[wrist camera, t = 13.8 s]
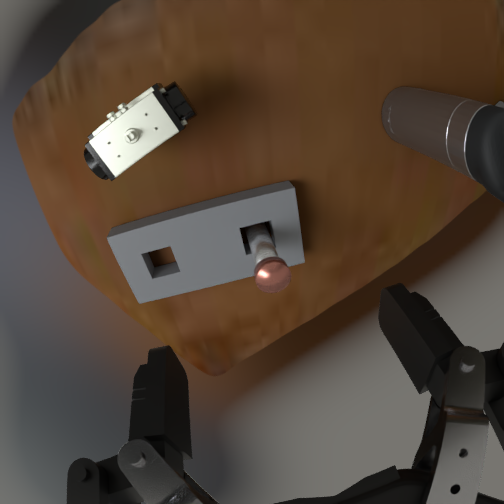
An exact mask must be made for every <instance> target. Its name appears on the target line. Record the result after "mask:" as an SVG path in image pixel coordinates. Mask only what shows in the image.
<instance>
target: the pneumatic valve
mask: <svg viewBox="0 0 504 504" xmlns="http://www.w3.org/2000/svg"><path fill="white" fill-rule="evenodd" d="M125 105H126V104H125V103H122V104H121V105H119V106H118V107H117V108H118V110H119V111H118V112H117V113H116V114H115V113H114V112H113V111H112V112H111V113H109V114H108V115H107V118H109V119H108V120H107V121H106V122H104V123H103V124H102V125H101V126H100V127H98V128H97V129H96V130H95V131H94V132H93V133H91V134H90V135H89V136H88V138H89V139H90V141H89V142H87V143H86V144H85V147H86V149H85V150H84V157H85V160H86V162H87V164H88V166H89V168H90V169H91V170H92V171H93V172H94V173H95V174H96V175H97V176H98V177H99V178H101V179H104V180H107V179H110V180H111V181H112V180H114V179H115V178H116V177H117V176H119V175H120V174H121V173H123V172H124V171H125V170H126V169H128V168H129V167H130V166H132V165H133V164H134V163H136V162H137V161H138V160H140V159H141V158H142V157H144V156H145V155H147V154H148V153H149V152H151V151H152V150H153V149H155V148H156V147H158V146H159V145H161V144H162V143H163V142H165V141H166V140H168V139H169V138H171V137H172V136H174V135H175V134H177V133H178V132H180V131H181V130H183V129H184V128H185V126H186V124H187V121H189V120H191V119H192V118H194V117H195V116H197V113H196V111H195V109H194V107H193V106H192V104H191V102H190V101H189V99H188V98H187V96H186V95H185V93H184V92H183V91H182V89H181V88H180V87H179V85H178V84H177V83H176V82H175V81H174V82H172V83H171V84H169V85H168V86H166V87H165V88H164V87H163V86H162V84H161V83H156V84H155V85H153V86H152V87H151V88H149V89H148V90H146V91H145V92H143V93H142V94H141V95H139V96H138V97H137V98H135V99H134V100H132V101H131V102H130V103H128V104H127V105H126V106H125ZM124 106H125V107H124ZM120 109H121V110H120Z"/></svg>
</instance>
